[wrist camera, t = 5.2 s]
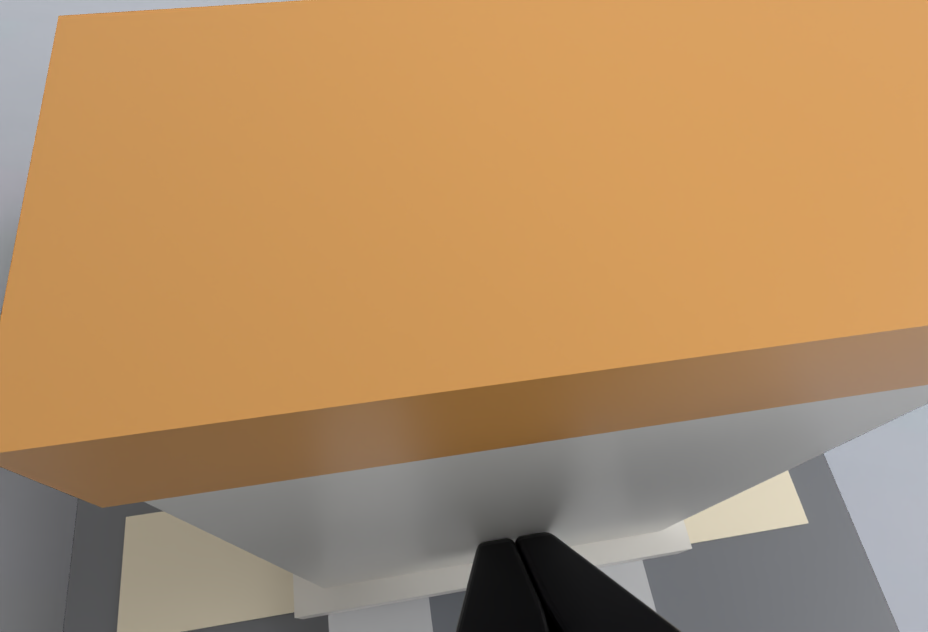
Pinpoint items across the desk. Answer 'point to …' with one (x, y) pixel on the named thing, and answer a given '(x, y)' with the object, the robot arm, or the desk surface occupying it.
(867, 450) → the desk surface
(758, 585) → the fader console
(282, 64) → the fader lever
